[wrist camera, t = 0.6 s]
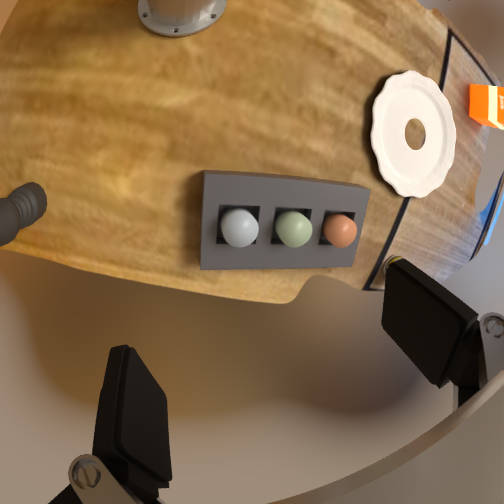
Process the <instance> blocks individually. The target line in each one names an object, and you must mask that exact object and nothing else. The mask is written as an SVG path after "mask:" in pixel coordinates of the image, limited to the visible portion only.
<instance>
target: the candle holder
mask: <svg viewBox="0 0 504 504" xmlns="http://www.w3.org/2000/svg"><path fill="white" fill-rule="evenodd" d="M46 206H47V198H46V194H45V192H44V190H43V188H42V187H41V186H40V185H39V184H36V183H34V182H31V183H26V184H24V185H22V186H20V187H18V188H17V189H15V190H14V191H13V192H12V193H11V194H10V195H9V196H8V197H7V199H6V198H0V246H3V245H5V244H8V243H9V242H11V241H12V240H14V239H15V237H16V235H17V233H18V232H19V229H23V228H25V227H28V226H30V225H31V224H33V223H34V222H35V221H37V220H38V219H39V218H41V217H42V216H43V214H44V212H45V211H46Z"/></svg>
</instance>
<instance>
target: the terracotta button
mask: <svg viewBox="0 0 504 504" xmlns="http://www.w3.org/2000/svg"><path fill="white" fill-rule="evenodd" d="M322 234H323V236H324V237H325V238H326V239H327V240H328V241H330V242H331V243H332V244H333V245H334V246H335V247H338V248H344V247H347V246H348V245H350V244H351V243H352V242H353V241H354V239H355V237H356V234H357V227H356V224H355V223H354V221H352V220H351V219H349V218H348V217H346V216H345V215H343V214H341V213H332V214H330V215H329V216H328V217H327V218H326V219H325V220H324V222H323V224H322Z"/></svg>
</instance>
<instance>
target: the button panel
mask: <svg viewBox="0 0 504 504" xmlns="http://www.w3.org/2000/svg"><path fill="white" fill-rule="evenodd" d="M369 195H370V189H368V188H366V187H363V186H361V185H358V184H352V183H345V182H338V181H331V180H323V179H315V178H306V177H297V176H287V175H277V174H265V173H252V172H237V171H218V170H203V183H202V199H201V218H200V243H199V263H200V270H232V269H289V268H328V267H352V265H353V261H354V257H355V254H356V250H357V246H358V242H359V238H360V234H361V230H362V226H363V222H364V218H365V213H366V209H367V204H368V200H369ZM234 207H242V208H245V209H247V210H248V211H249V212H250V213H251V214H252V216H253V217H254V218H255V220H256V221H257V223H258V227H259V231H258V235H257V237H256V239H255V240H254V241H253V242H252V243H251V244H250V245H248V246H245V247H234V246H232V245H230V244H228V243H227V241H226V240H225V238H224V236H223V233H222V230H221V227H220V221H221V218H222V216H223V214H224V213H225V212H226V211H227V210H229V209H231V208H234ZM286 210H296V211H298V212H300V213H301V214H302V215H303V216H305V217H306V218H307V219H308V220H309V221H310V222H311V225H312V234H311V237H310V239H309V240H308V241H307V242H306V243H305V244H304V245H302V246H300V247H296V248H292V247H289V246H287V245H285V244H284V243H283V241H282V240H281V239H280V238H279V237H278V235H277V234H276V232H275V229H274V224H275V220H276V218H277V217H278V215H279V214H280V213H282V212H283V211H286ZM332 213H341V214H343V215H345V216H346V217H348V218H349V219H351V220H352V221H354V223H355V224H356V227H357V234H356V237H355V239H354V241H353V242H352V243H351V244H350V245H348V246H347V247H344V248H338V247H335V246H334V245H333V244H332V243H331V242H330V241H328V240H327V239H326V238H325V237H324V236H323V234H322V224H323V222H324V220H325V219H326V218H327V217H328V216H329V215H330V214H332Z"/></svg>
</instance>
